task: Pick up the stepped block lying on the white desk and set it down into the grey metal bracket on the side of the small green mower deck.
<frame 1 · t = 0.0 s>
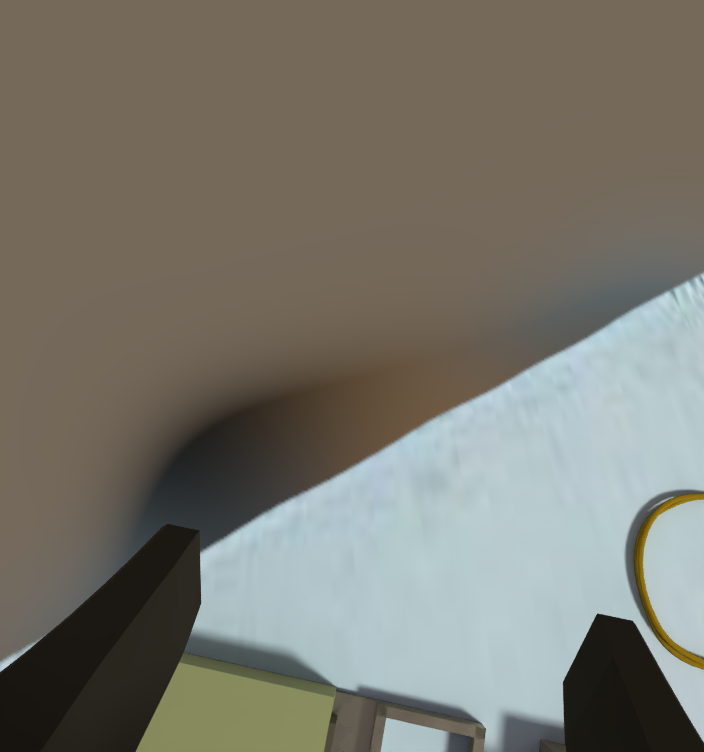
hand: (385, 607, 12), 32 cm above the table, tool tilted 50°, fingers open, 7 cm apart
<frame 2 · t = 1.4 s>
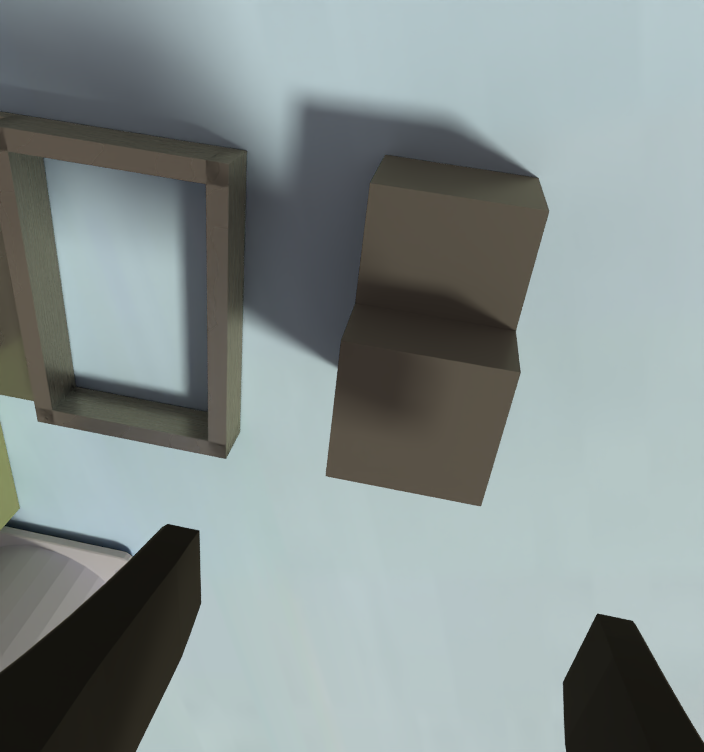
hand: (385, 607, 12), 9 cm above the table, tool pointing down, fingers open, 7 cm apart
stepped block: (437, 287, 19), on the table
bracket: (141, 291, 20), on the table
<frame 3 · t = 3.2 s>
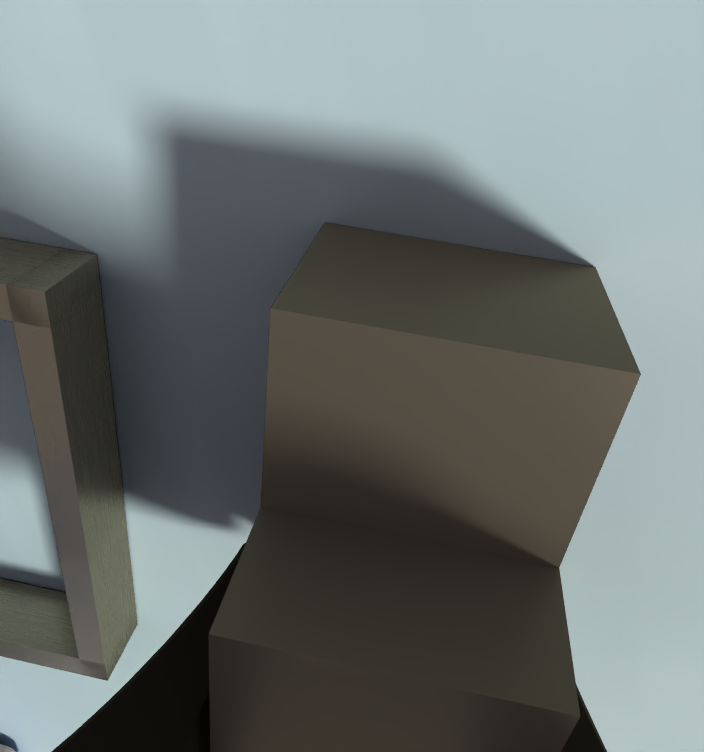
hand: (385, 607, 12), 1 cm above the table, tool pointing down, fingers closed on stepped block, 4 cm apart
stepped block: (418, 432, 11), on the table, touching gripper
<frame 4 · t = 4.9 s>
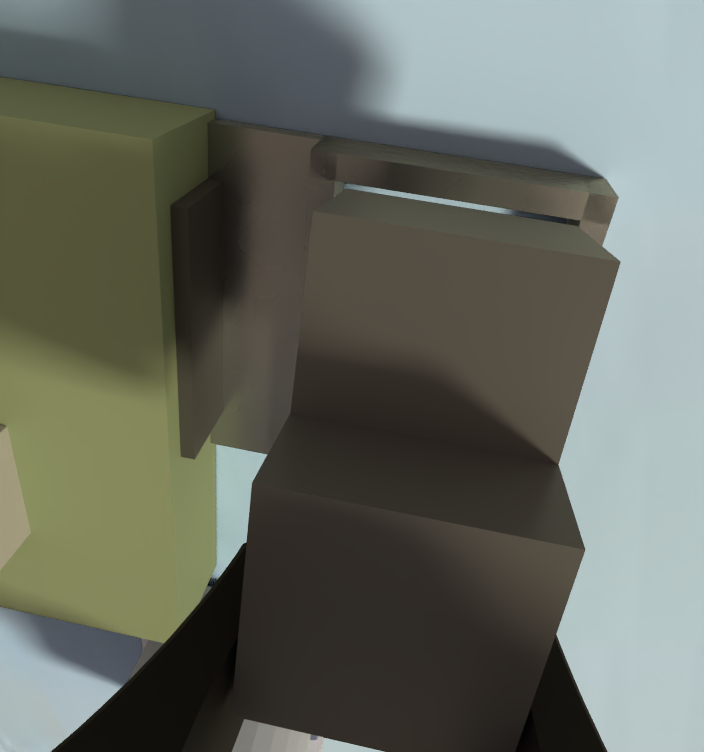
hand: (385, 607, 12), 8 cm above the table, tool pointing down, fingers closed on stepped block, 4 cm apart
stepped block: (423, 390, 12), point 5 cm above the table, tilted 10°, touching gripper
bracket: (426, 336, 17), on the table
deck: (46, 355, 20), on the table
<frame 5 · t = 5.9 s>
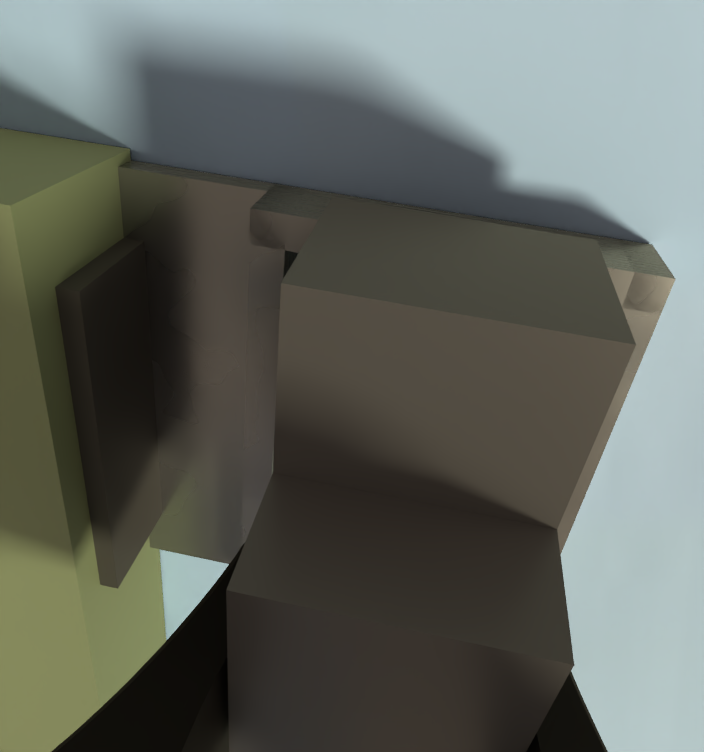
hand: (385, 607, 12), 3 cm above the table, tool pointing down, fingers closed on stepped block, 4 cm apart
stepped block: (423, 401, 12), point 1 cm above the table, touching bracket, gripper
bracket: (414, 431, 14), on the table
when the fingers open (3 cm above the table, at t = 6.4 s): stepped block stays where it is, resting on bracket.
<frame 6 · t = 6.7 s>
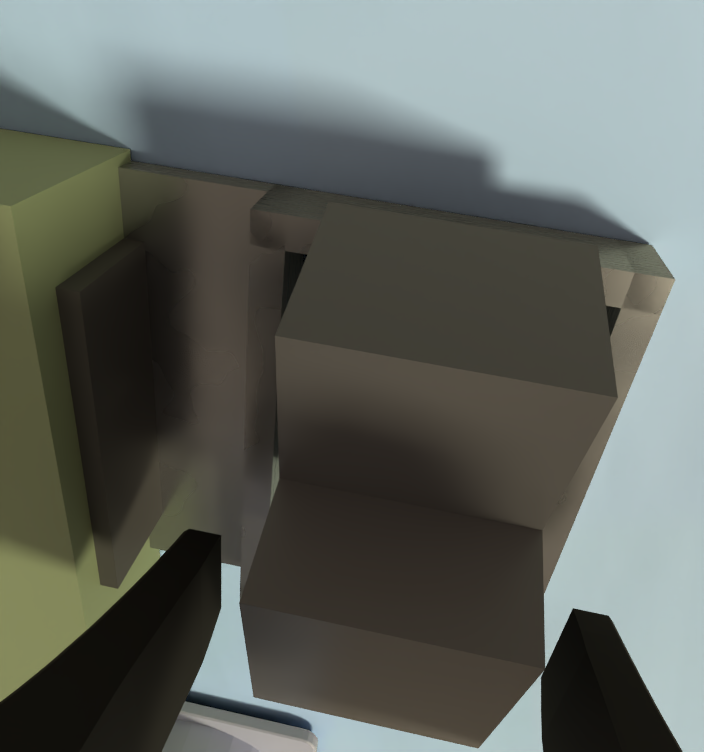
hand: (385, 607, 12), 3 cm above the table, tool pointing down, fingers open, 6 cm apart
stepped block: (425, 382, 12), point 1 cm above the table, tilted 15°, touching bracket
bracket: (414, 431, 14), on the table
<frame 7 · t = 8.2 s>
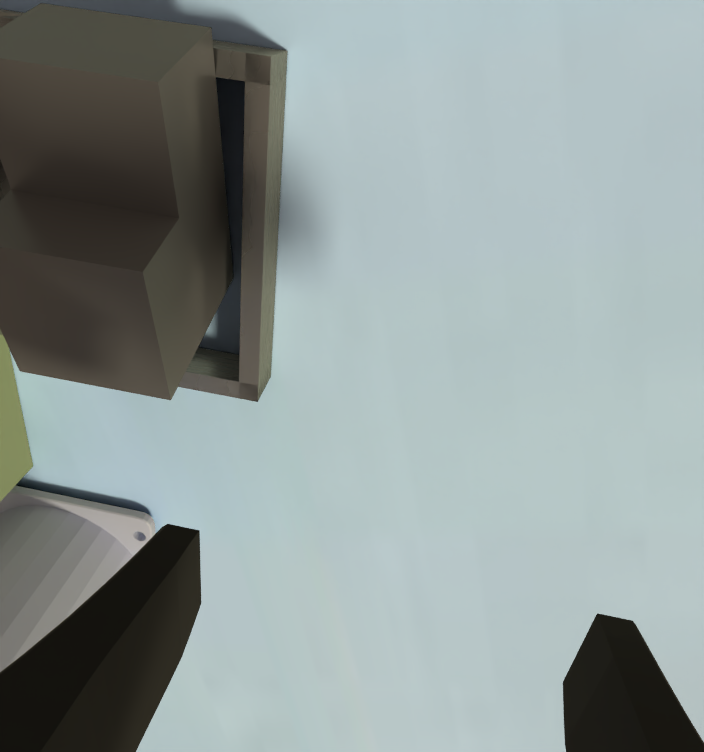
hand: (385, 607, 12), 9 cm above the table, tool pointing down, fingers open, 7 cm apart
stepped block: (151, 160, 17), point 1 cm above the table, tilted 15°, touching bracket
bracket: (167, 218, 19), on the table
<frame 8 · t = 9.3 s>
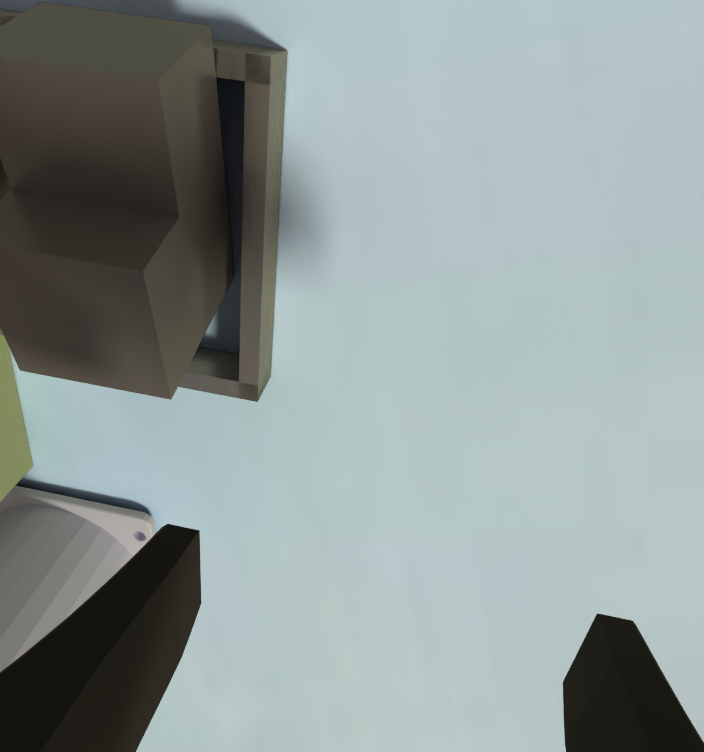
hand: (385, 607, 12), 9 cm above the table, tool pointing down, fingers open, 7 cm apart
stepped block: (151, 159, 17), point 1 cm above the table, tilted 15°, touching bracket
bracket: (167, 217, 19), on the table
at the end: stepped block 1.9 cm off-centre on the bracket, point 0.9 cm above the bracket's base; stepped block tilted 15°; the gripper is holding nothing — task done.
